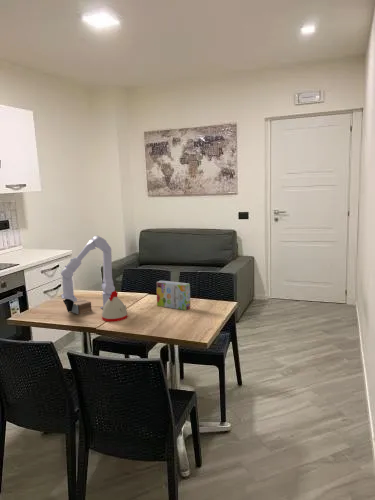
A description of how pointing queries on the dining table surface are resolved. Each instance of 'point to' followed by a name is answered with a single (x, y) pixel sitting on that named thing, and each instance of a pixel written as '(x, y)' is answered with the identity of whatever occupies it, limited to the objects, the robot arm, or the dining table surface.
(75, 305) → the door
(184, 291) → the snack box
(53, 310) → the dining table surface
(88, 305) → the cabinet
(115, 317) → the kitchen timer
